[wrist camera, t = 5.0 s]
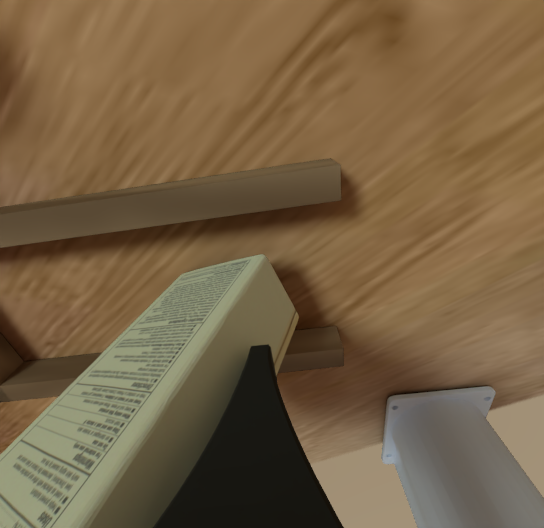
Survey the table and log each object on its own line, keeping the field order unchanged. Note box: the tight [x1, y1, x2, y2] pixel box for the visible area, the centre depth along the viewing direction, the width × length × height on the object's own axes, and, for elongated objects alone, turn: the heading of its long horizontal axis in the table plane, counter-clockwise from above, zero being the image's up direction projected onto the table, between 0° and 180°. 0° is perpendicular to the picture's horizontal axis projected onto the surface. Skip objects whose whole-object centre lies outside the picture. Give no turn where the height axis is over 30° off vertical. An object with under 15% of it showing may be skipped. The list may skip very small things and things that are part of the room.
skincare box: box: [0, 254, 299, 528], centre depth 10 cm, size 6×4×12 cm
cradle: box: [0, 158, 344, 402], centre depth 15 cm, size 12×24×2 cm, turn 98°
